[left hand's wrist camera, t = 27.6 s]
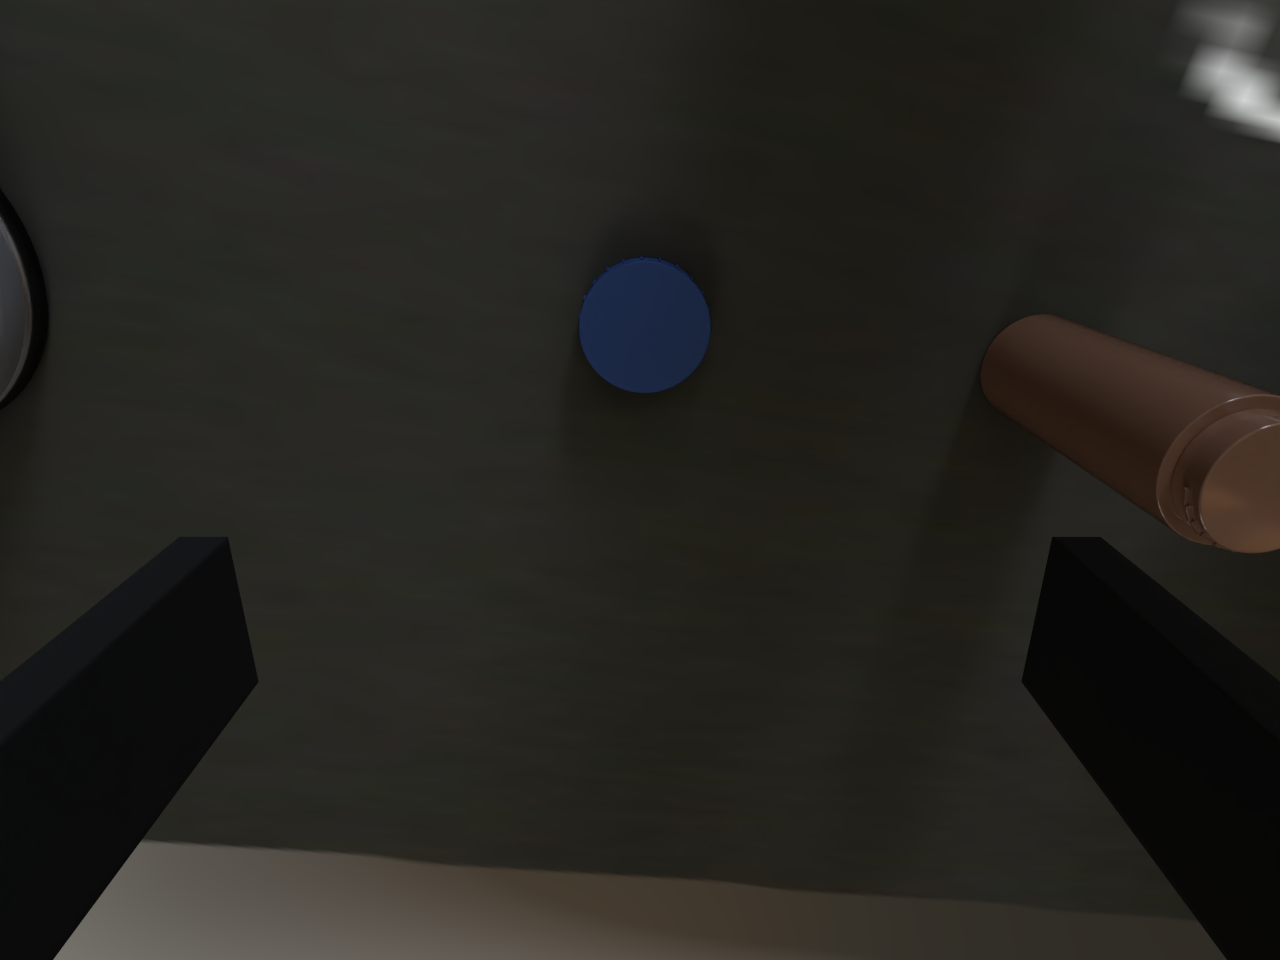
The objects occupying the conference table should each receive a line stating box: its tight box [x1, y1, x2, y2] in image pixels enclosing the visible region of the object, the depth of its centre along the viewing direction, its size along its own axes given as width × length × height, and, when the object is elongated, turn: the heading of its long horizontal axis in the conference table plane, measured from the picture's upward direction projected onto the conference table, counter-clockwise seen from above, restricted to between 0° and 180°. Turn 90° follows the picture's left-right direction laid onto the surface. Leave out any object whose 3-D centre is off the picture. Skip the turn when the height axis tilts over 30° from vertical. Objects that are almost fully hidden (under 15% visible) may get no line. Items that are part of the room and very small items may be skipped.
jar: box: [981, 314, 1280, 553], centre depth 31 cm, size 5×5×15 cm
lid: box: [578, 256, 712, 393], centre depth 36 cm, size 6×6×2 cm
